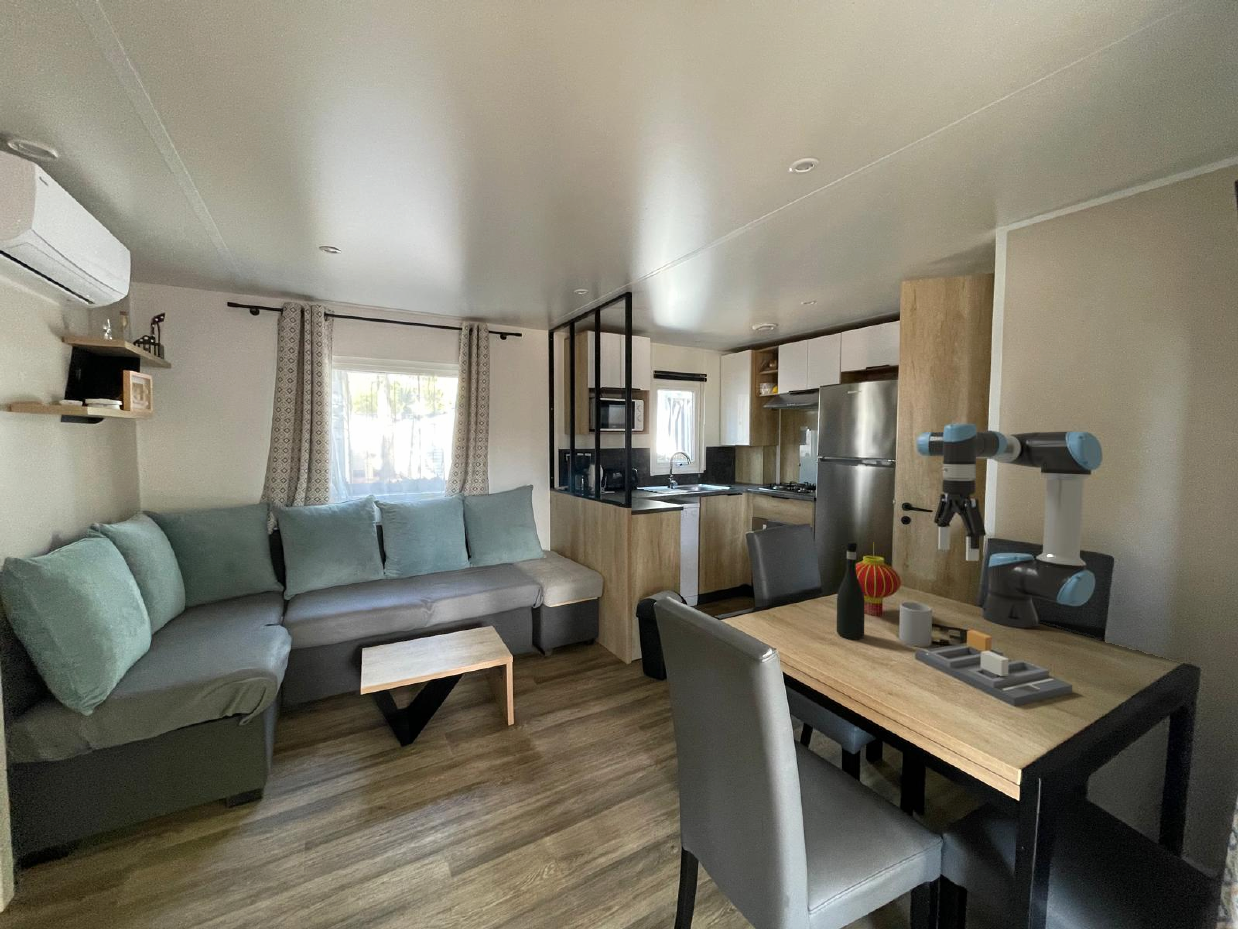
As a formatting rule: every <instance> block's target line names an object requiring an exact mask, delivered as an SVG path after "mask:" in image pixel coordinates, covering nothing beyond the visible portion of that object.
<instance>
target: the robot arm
mask: <svg viewBox="0 0 1238 929" xmlns="http://www.w3.org/2000/svg"><path fill="white" fill-rule="evenodd" d="M916 449H917V452H918V453H919V454H920V455H921V456H927V457H942V458H943V460H942V468H941V471H942V478H943V480H942V486H941V487H942V493H941V494H940V496H939V497H940V498H939V503H938V506H937V508H936V509H937V510H936V513H935V515H934V520H933V523H934V524H937V527H938V546H937V547H938V548H937V549H938V550H950V549H951V546H950V544H951V525H950V524H951V521H952V520H953V518H954V516H955V515H956V514H957V515H958V516H960V518H961V520H962V522H963V524H964V527H965V529H966V532H967V534H966V535H965V536H966V538H965V540H966V541H965V542H966V545H965V546H966V549H965V551H966V552H965V560H966V561H968V562H979V560H980V538H981V537H984V536H986V535H987V531H986V530H985V529H986V528H985V526H984V525H985V524H984V522H983V518H982V517H983V516H982V513H981V511H980V510H981V509H980V504H979V499H978V498H971V495H974V494H975V493H976V481H975V480H974V479H976V475H977V471H976V470H977V461H976V460H977V459H979V460H980V459H981V460H983V459H984V460H994V461H995V462H997V463H1001V464H1009V465H1015V466H1021V467H1028V468H1038V469H1039V468H1040V475H1041V476H1043V477H1045V479H1046V483H1045V484H1046V487H1045V505H1044V521H1043V522H1044V523H1043V525H1044V526H1043V540H1042V542H1043V543H1042V553H1041V554H1038V555H1037V556H1036V558H1034V556H1033V554H1029V553H1020V552H1019V553H1017V552H998V553H994V554H991V555H990V556H989V563H988V594H987V597H986V599H985V601H984V604H983V606H982V608H981V617H982V618H984V619H985V620H987V621H990V622H992V623H996V624H998V625H1002V626H1007V627H1012V628H1021V629H1033V628H1037V627H1038V626H1039V617H1038V614H1037V612H1036V609H1035V606H1034V604H1033V597H1035V598H1039V599H1041V600H1042V599H1043V600H1047V601H1050V602H1054V603H1058V604H1059V605H1067V606H1071V607H1079V606H1082V605H1084V604H1086V603H1087V602H1088V601H1089V599H1090V598H1091V596H1092V595H1093V593H1094V590H1095V587H1096V578H1095V575H1094V573H1093V572H1091V571H1090V570H1088V569H1086V568H1087V563H1086V562H1085V561H1084V560H1083V559H1082V558H1081V556H1080V554H1081V540H1082V539H1081V537H1082V520H1083V519H1082V518H1083V502H1084V501H1083V499H1084V487H1085V486H1084V485H1085V484H1084V483H1085V482H1084V481H1085V480H1086V479H1089V478H1090V477H1091V475H1092V471H1093V470H1097V469H1099V468H1100V466H1101V463H1103V448H1102V446H1101V443H1100V441H1099V439H1098V438H1097V437H1096V436H1095V435H1094V434H1093V433H1091V432H1088V431H1075V430H1074V431H1073V430H1071V431H1046V432H1045V431H1043V432H1041V431H1039V432H1038V431H1035V432H1034V431H1033V432H1023V433H1014V434H1009V433H1008V434H1005V433H1004V434H1003V433H1002V432H1001V431H997V430H977V425H976V424H975V423H952V424H951V423H949V424H947V425H945V426H944V427H943V431H929V432H922V433H921V434H920V435H919V436H918V437H917V439H916Z"/></svg>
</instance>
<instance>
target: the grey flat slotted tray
mask: <svg viewBox="0 0 1238 929" xmlns="http://www.w3.org/2000/svg"><path fill="white" fill-rule="evenodd" d="M990 652H993V653H995V654H998V655H1000V656H1003V657H1004V651H1002V650H998V649H996V648H993V647H991V651H990ZM914 659H915V660H917V661H919V662H921V663H924V664H925V665H927V666H929V667H931V668H933V669H935V670H938V671H940V672H941V673H944V674H946V675H947V676H950V677H952V678H954V679H956V680H958V681H960V682H962V683H964V684H966V685H969V686H971V687H973V688H974V689H977V690H979V691H981V692H983V693H985V694H987V695H989V696H991V697H994V698H995V699H998V700H1000V701H1002V702H1004V703H1006V704H1008V705H1010V706H1013V707H1017V706H1022V705H1026V704H1031V703H1034V702H1038V701H1039V702H1040V701H1043V700H1048V699H1052V698H1056V697H1060V696H1066V695H1069V694H1072V693H1073V684H1071V683H1069V682H1066V681H1063V680H1062V679H1059V678H1056V677H1054V676H1052V675H1050V669H1047V668H1045V667H1042V666H1039V665H1037V664H1034V663H1032V662H1029V661H1026V660H1025V659H1017V660H1011V659H1009V666H1008V675H1005V676H1003V677H998V678H993V679H992V678H990V677H987V676H985V675H983V669H984V668H981V654H976V655H974V654H971V653H969V646H968V645H967V642H964V643H958V644H953V645H948V646H947V645H946V646H941V647H935V648H929V649H923V650H918V651H915V652H914Z"/></svg>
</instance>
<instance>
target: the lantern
mask: <svg viewBox="0 0 1238 929" xmlns="http://www.w3.org/2000/svg"><path fill="white" fill-rule="evenodd" d="M872 544H873V549H872V550H873V555H865V556H863V557H862V559H863V560H862V561H859V562H856V574H857V578H858V581H859V583H860V586H861V588H862V591H863V594H864V600H865V614H866V615H868V616H875V617H879V614H883V604H884V602H883V600H884V598H888V597H891V596H893V595H895V594H896V593H897V592H898V591H899V590H900V588H901V584H902V582H901V576H900V575H899V573H898V572H897V570H895V569H894V568H893V567H891V565H888V564H886V563H885V559H884V557H881V556H875V543H872Z"/></svg>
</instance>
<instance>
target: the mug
mask: <svg viewBox="0 0 1238 929" xmlns="http://www.w3.org/2000/svg"><path fill="white" fill-rule="evenodd" d="M932 625H933V609H932V607H930V606H929V605H926V604H924V603H919V602H912V601H907V602H906V601H905V602H904V601H903V602H901V603H900V604H899V626H898V627H899V630H898V632H899V633H898V638H899V639H898V640H900V641H901V643H903V644H906V645H909V646H912V647H916V648H917V647H918V648H927V647H931V646H932V641H933V640H932V634H933V633H932V629H933V628H932Z"/></svg>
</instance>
